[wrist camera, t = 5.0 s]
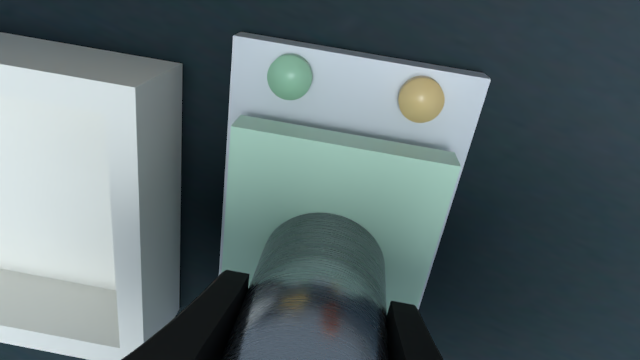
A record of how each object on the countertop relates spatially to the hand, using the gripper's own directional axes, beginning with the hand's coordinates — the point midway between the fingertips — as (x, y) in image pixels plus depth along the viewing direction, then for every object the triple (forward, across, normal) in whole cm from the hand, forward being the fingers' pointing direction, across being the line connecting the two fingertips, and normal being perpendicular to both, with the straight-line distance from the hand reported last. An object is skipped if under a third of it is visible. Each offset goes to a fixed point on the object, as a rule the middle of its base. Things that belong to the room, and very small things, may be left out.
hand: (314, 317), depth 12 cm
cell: (+2, 0, 0) cm, 2 cm away
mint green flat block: (+3, 0, 0) cm, 3 cm away
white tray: (+4, +11, 0) cm, 12 cm away
